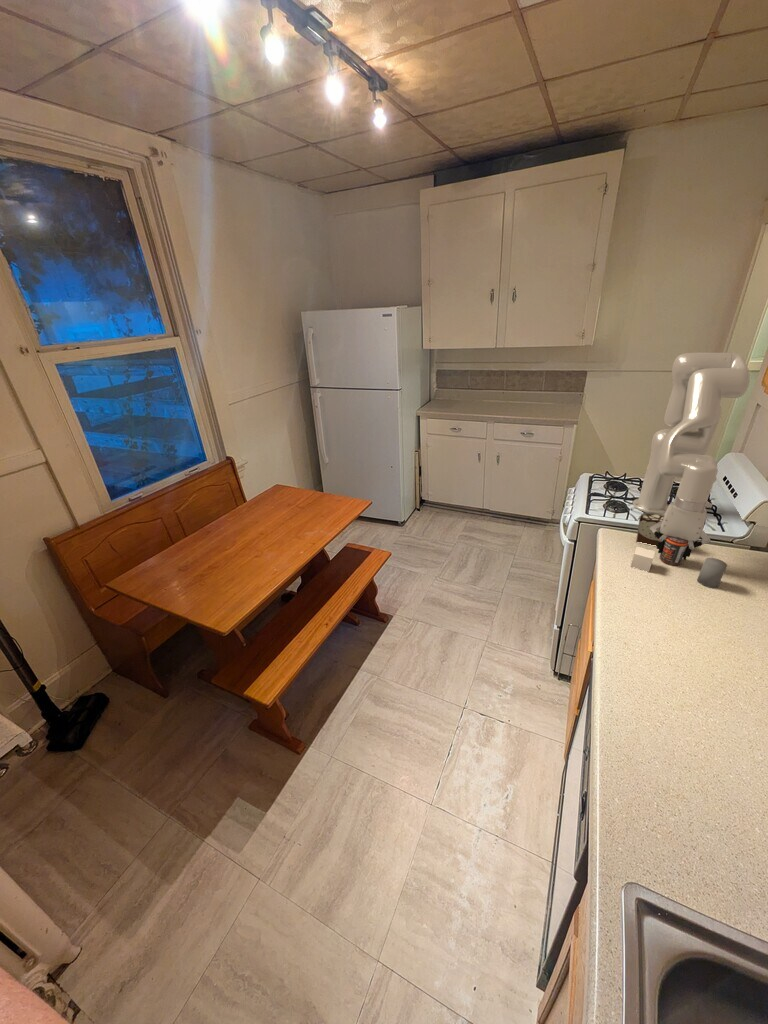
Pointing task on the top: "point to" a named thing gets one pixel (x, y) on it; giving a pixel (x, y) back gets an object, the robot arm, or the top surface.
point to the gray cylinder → (711, 572)
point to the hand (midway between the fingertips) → (672, 553)
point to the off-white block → (642, 559)
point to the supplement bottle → (673, 550)
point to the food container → (648, 527)
